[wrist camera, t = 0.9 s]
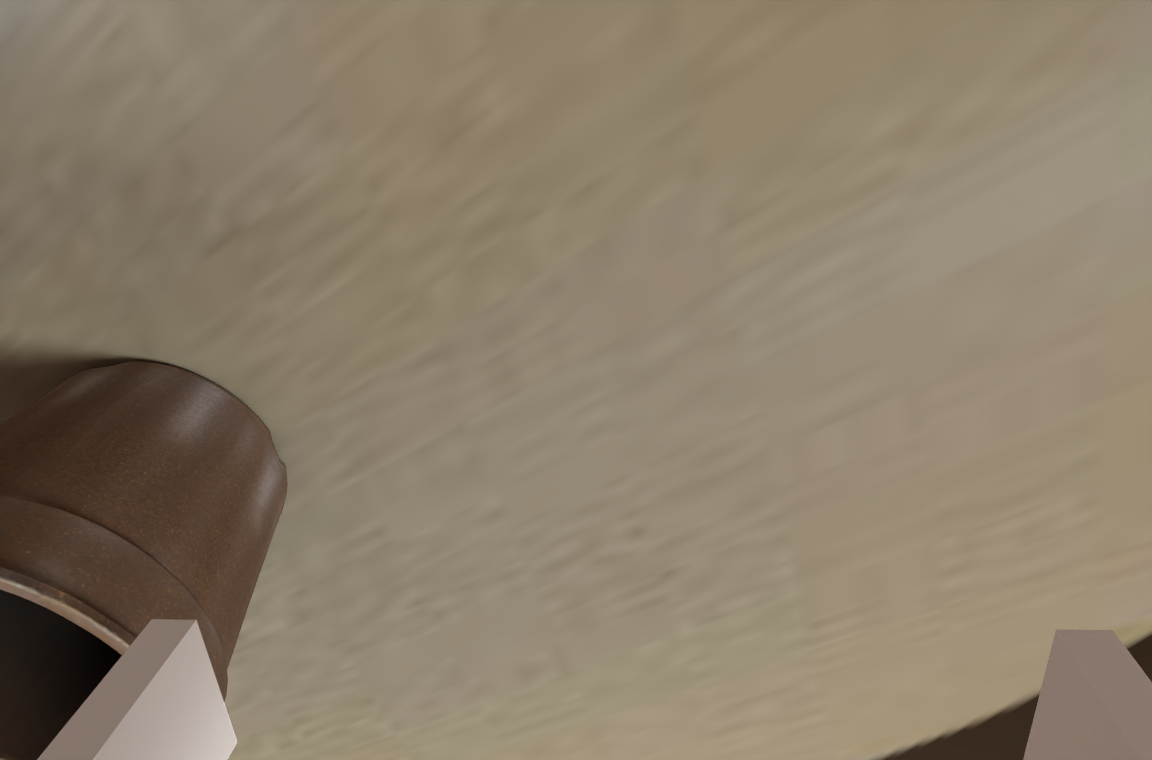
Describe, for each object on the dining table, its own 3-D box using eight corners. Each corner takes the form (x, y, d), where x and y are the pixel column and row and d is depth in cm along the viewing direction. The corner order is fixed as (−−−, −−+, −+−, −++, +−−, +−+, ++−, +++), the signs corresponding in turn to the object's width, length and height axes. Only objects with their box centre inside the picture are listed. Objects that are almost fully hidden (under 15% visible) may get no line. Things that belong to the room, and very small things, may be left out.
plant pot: (376, 397, 38) (256, 660, 24) (288, 621, 45) (156, 928, 31) (21, 263, 35) (-361, 476, 21) (-13, 527, 42) (-317, 822, 27)
